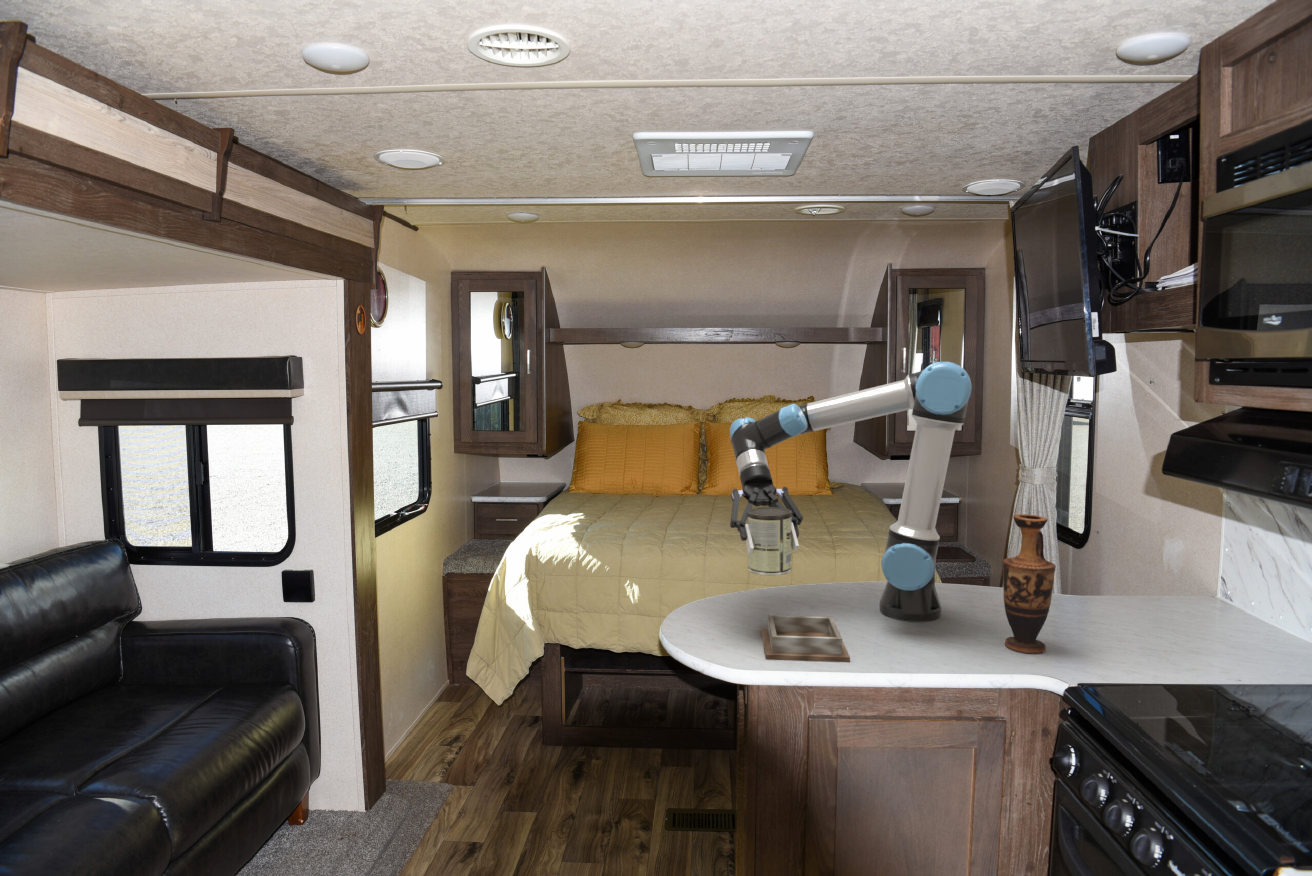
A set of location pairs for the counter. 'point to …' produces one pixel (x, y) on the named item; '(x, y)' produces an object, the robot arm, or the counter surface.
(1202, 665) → the counter surface
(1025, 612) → the vase
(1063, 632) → the counter surface
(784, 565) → the coffee can
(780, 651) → the collar board
